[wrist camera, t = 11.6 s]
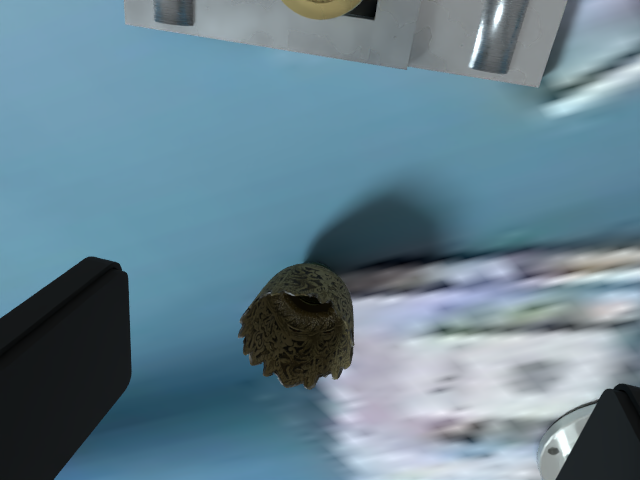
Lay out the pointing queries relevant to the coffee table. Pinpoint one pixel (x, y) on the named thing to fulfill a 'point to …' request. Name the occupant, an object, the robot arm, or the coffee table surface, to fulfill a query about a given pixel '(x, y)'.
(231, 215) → the coffee table surface
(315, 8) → the brass pin
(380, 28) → the plate with square hole
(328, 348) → the cup
